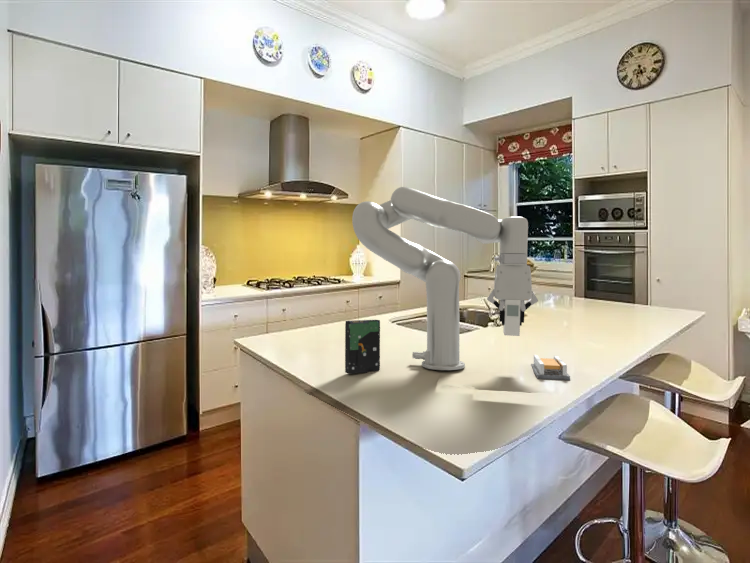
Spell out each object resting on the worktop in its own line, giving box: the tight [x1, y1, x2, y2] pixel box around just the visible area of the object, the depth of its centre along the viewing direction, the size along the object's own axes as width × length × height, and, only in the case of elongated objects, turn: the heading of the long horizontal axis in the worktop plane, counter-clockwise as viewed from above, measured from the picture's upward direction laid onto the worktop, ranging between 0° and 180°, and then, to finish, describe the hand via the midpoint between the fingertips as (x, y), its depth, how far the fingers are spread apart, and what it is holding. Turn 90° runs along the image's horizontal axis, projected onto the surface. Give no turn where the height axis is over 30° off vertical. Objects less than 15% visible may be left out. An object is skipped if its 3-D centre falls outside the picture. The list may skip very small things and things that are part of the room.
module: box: [502, 299, 521, 337], centre depth 126 cm, size 4×7×10 cm, turn 166°
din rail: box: [530, 354, 571, 381], centre depth 124 cm, size 8×16×4 cm, turn 166°
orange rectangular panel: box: [539, 357, 560, 370], centre depth 124 cm, size 4×11×1 cm, turn 166°
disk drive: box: [344, 319, 381, 375], centre depth 126 cm, size 10×3×15 cm, turn 120°
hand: (511, 324), depth 126 cm, fingers closed on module, 4 cm apart
